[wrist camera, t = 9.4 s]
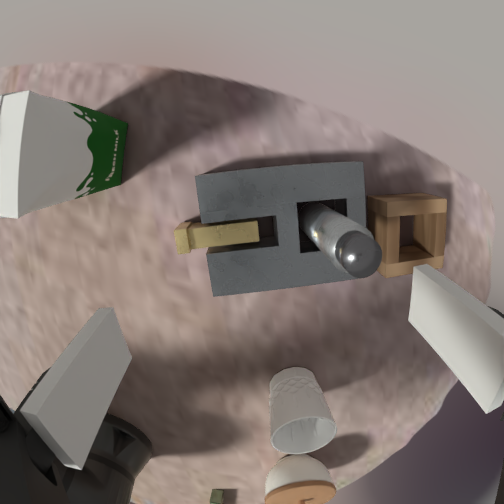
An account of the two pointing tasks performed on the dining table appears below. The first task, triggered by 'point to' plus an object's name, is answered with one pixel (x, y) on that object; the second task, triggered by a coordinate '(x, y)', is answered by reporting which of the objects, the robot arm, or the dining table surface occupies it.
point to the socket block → (276, 223)
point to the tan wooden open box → (424, 231)
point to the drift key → (215, 234)
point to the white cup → (298, 412)
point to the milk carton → (54, 152)
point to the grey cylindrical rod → (341, 240)
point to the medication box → (217, 496)
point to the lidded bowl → (299, 481)
